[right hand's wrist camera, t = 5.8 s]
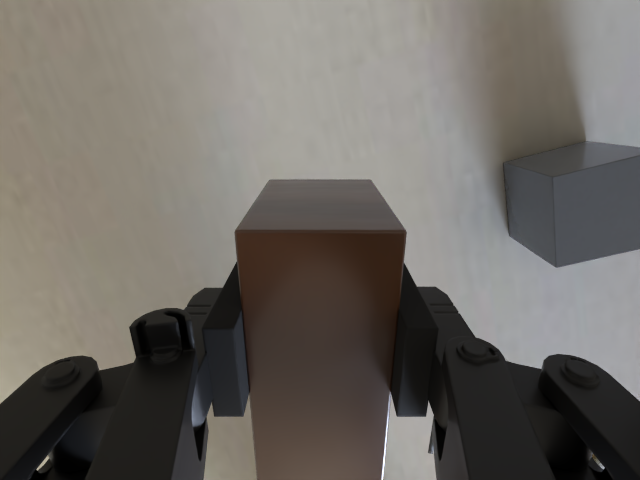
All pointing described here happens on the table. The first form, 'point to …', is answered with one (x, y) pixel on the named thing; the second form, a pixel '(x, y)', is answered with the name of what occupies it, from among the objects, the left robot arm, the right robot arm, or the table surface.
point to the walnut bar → (320, 326)
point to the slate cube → (575, 202)
